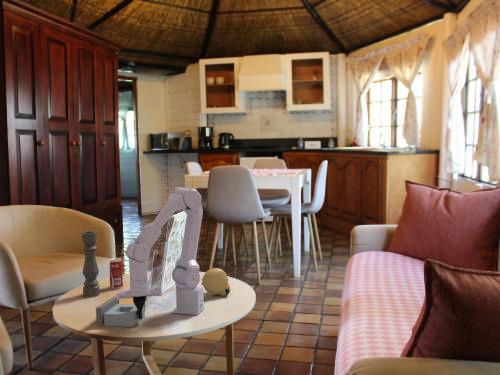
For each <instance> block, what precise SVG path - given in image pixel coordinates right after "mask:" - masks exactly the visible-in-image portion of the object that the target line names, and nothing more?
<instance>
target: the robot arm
mask: <svg viewBox="0 0 500 375" xmlns="http://www.w3.org/2000/svg"><path fill="white" fill-rule="evenodd" d="M181 210H182V211H183V212H184V213H185V214H186V219H185V226H184V232H183V233H184V234H183V238H182V239H183V240H182V245H181V251H180V252H181V253H180V258H179V259H178V260H177V261H176V262H175V267H174V268H173V270H172V272H171V278H172V280H173V281H174V282H175V308H174V309H173V311H172V312H171V313H172V314H181V315H193V316H198V315H199V314H200V313H201V312H202V311H203V309H205V306H204V304H205V303H204V301H205V300H204V287H201V286H198V285H199V284H200V281H201V275H200V265H199V264H198V261H197V254H198V249H199V248H198V246H199V240H200V234H201V228H202V220H203V214H204V210H203V205H202V195H201V194H200V192H199V191H198V190H197V189H196V188H187V187H186V188H185V187H182V186H181V187H180V186H177V187H174V188H173V190H172V191H171V193H170V194H168V197H167V200H166V202H165V203H164V205H163V206H162V208H161V209H160V211H159V213H158V214H157V215H156V217H155V219H154V220H153V221H152V222H150V223H147V224H146V225H144V226H143V227H142V230H141V232H140V233H139V235H138V236H137V237H135V238H134V239H133V240H134V241H132V242H129V244H127V247H126V250H124V253H125V256H126V257H127V258H128V266H129V267H128V269H129V270H128V271H129V289H128V290H122V291H117V292H116V293H115V294H116V295H115V297H117V299H119V300H121V299H131V298H132V302H133V305H135V306H136V308H137V310H138V313H139V316H138V318H139V319H141V320H143V318H142V309H143V306H144V304H145V305H146V301H147V297H156V296H157V297H162V296H163V295H162V294H163V292H162V288H149V283H148V262H147V261H148V258H149V257H150V255H151V249H152V247H153V246H154V245H155V243H156V242H157V241H158V239H159V237H160V236H161V235H162V228H163V227H164V225H166V223H167V222H168V221H169V220H170V219H171V217H172V216H173V215H174V214H175V213H176V212H177V211H181Z"/></svg>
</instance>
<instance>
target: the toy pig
mask: <svg viewBox="0 0 500 375" xmlns="http://www.w3.org/2000/svg"><path fill="white" fill-rule="evenodd" d="M200 284H201V286H203V290H205V291H206V292H207V294H206V295H207V296H208V297H210V296H221V297H222V296H223V297H224V296H227V295H230V291H231V285H230V284H229V277H228V275H227V273H226V272H225V271H224V270H223V269H221V268H218V267H213V268H210V269H209V270H207V271H206V272H205V273H204V274H203V276H202V278H201V283H200Z"/></svg>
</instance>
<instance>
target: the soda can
mask: <svg viewBox="0 0 500 375" xmlns="http://www.w3.org/2000/svg"><path fill="white" fill-rule="evenodd" d="M109 260H110V261H109V265H108V266H109V288H110V289H112V290H120V289H122V288H123V287H124V276H123V275H124V273H123V272H124V271H123V269H124V268H123V266H124V265H123V260H122V258H121V257H113V258H110V259H109Z"/></svg>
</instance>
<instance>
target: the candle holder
mask: <svg viewBox="0 0 500 375" xmlns="http://www.w3.org/2000/svg"><path fill="white" fill-rule="evenodd" d="M81 241H82V243H83V245H84V246H83V248H82V250H83V251H84V262H83V263H84V264H83V268H82V276H83V277H84V282H83V287H82V294H83V295H82V296H83V297H85V298H94V297H97V296H99V295H100V294H101V293H100V292H101V291H100V285H99V284H100V283H99V280H98V279H97V278H98V275H99V272H100V269H99V267H98V262H97V258H96V250H97V248H98V247H97V246H96V243H97V241H98V232H97V231H94V230H87V231H82V232H81Z"/></svg>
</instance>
